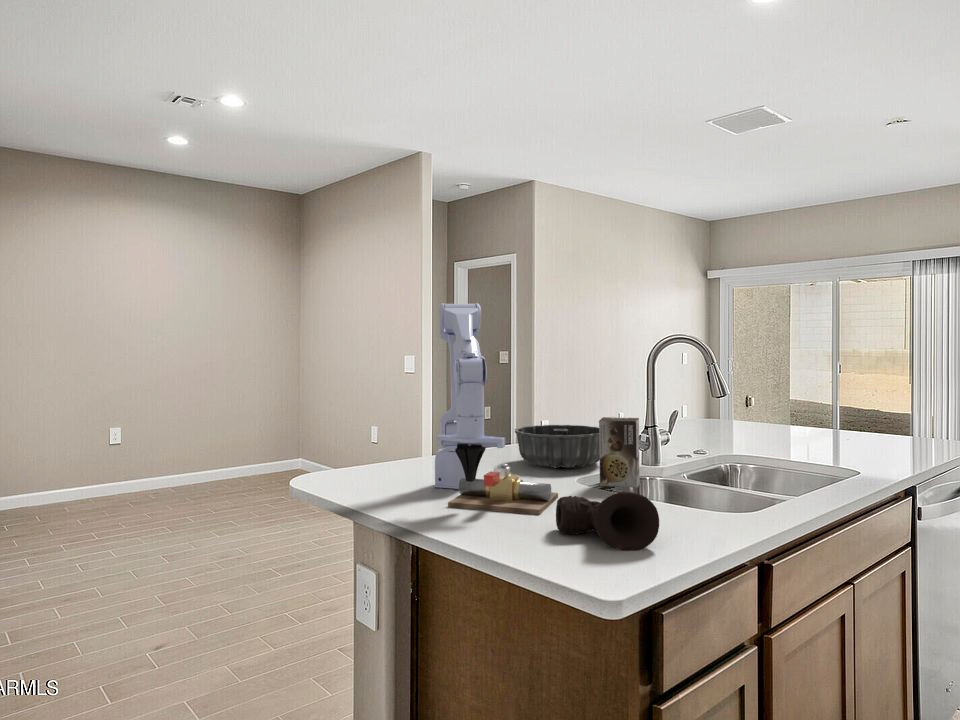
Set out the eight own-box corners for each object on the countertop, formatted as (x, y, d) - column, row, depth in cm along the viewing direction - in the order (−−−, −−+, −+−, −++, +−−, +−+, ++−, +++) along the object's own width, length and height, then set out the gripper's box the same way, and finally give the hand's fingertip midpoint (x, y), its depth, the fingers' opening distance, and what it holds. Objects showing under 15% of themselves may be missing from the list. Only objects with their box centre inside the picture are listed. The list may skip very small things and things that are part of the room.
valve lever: (500, 474, 149) (500, 463, 149) (511, 475, 148) (511, 463, 148) (482, 485, 138) (482, 473, 138) (494, 486, 137) (494, 473, 137)
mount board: (448, 506, 144) (448, 502, 143) (474, 491, 159) (474, 486, 159) (539, 514, 137) (539, 509, 137) (558, 497, 152) (558, 492, 152)
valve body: (457, 498, 149) (457, 476, 149) (465, 493, 153) (465, 471, 153) (546, 505, 142) (546, 482, 142) (552, 500, 147) (552, 477, 146)
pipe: (554, 487, 128) (573, 490, 113) (632, 489, 130) (660, 493, 115) (553, 539, 127) (572, 550, 112) (631, 542, 128) (660, 552, 113)
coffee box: (640, 483, 166) (640, 417, 166) (637, 488, 160) (637, 420, 160) (602, 480, 169) (602, 416, 169) (598, 486, 163) (598, 419, 163)
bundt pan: (507, 457, 205) (507, 424, 205) (592, 455, 208) (592, 422, 208) (523, 474, 179) (523, 436, 178) (620, 471, 182) (620, 434, 181)
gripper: (430, 416, 140) (431, 482, 140) (497, 418, 135) (497, 486, 135) (444, 413, 147) (444, 475, 147) (508, 415, 142) (508, 480, 142)
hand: (470, 480), depth 142 cm, fingers closed
